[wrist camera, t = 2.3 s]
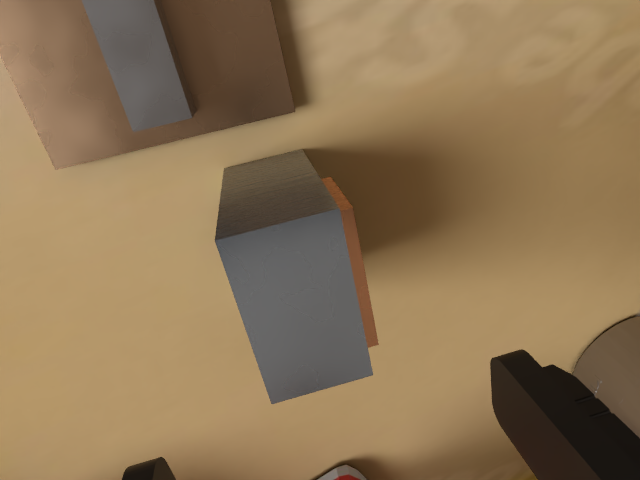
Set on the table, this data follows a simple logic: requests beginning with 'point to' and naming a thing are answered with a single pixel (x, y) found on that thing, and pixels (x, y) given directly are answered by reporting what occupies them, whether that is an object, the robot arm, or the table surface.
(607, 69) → the table surface
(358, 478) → the toy
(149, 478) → the robot arm
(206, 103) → the rail
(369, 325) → the block
